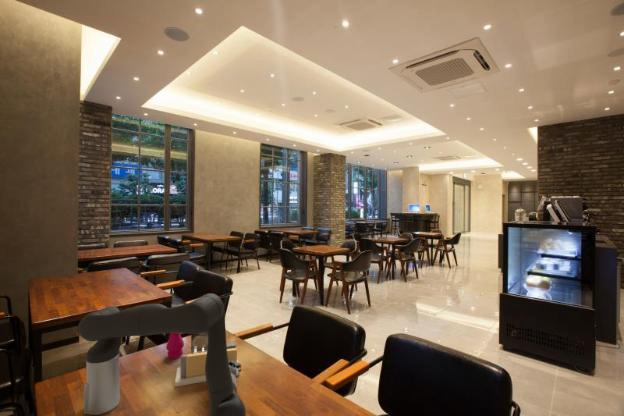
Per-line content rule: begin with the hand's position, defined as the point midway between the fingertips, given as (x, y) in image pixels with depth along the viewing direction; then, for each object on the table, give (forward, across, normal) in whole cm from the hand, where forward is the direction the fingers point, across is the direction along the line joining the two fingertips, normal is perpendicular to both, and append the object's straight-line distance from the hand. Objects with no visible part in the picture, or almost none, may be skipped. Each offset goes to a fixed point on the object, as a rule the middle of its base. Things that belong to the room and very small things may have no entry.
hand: (223, 358), depth 122 cm
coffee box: (+18, +8, +7) cm, 21 cm away
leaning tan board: (+1, +5, +5) cm, 8 cm away
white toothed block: (+6, +6, +5) cm, 10 cm away
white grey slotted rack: (+4, +6, +7) cm, 10 cm away
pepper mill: (+23, +20, +7) cm, 31 cm away
